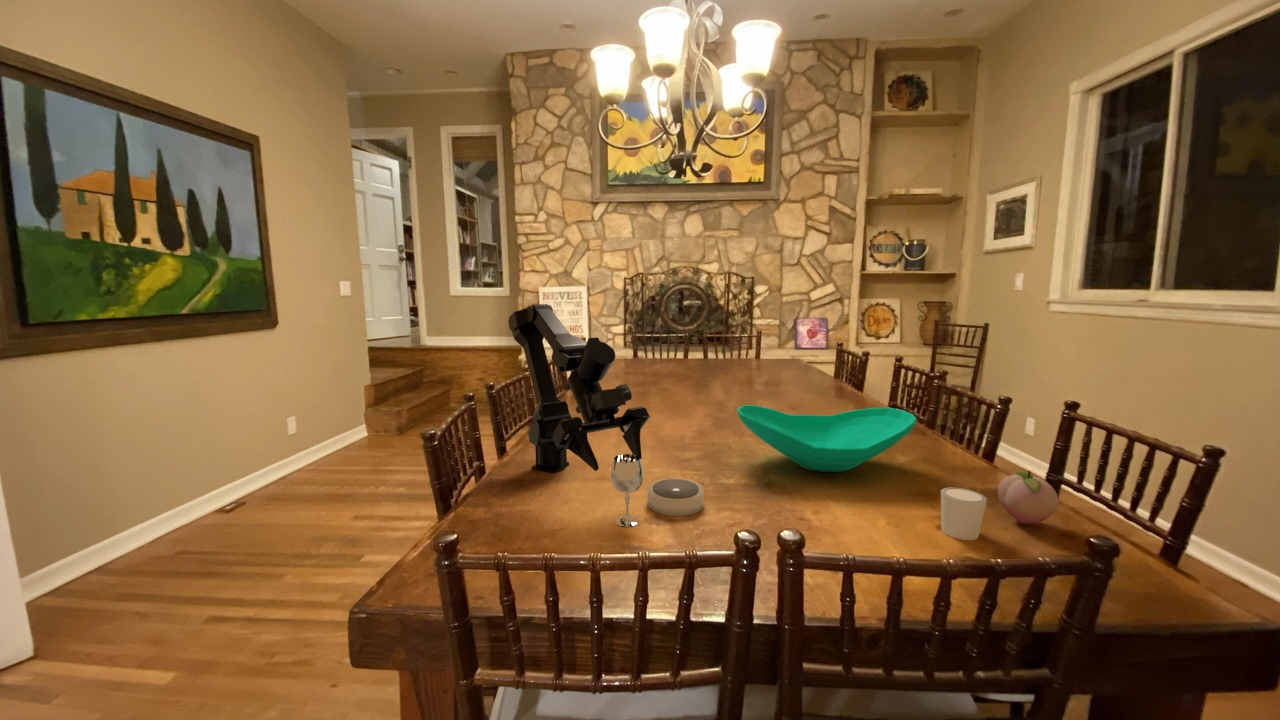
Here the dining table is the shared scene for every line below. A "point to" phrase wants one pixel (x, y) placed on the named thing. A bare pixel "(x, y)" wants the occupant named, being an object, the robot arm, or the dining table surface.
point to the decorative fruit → (1027, 497)
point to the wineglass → (627, 482)
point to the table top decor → (829, 435)
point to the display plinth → (675, 497)
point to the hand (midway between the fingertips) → (619, 464)
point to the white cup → (962, 512)
